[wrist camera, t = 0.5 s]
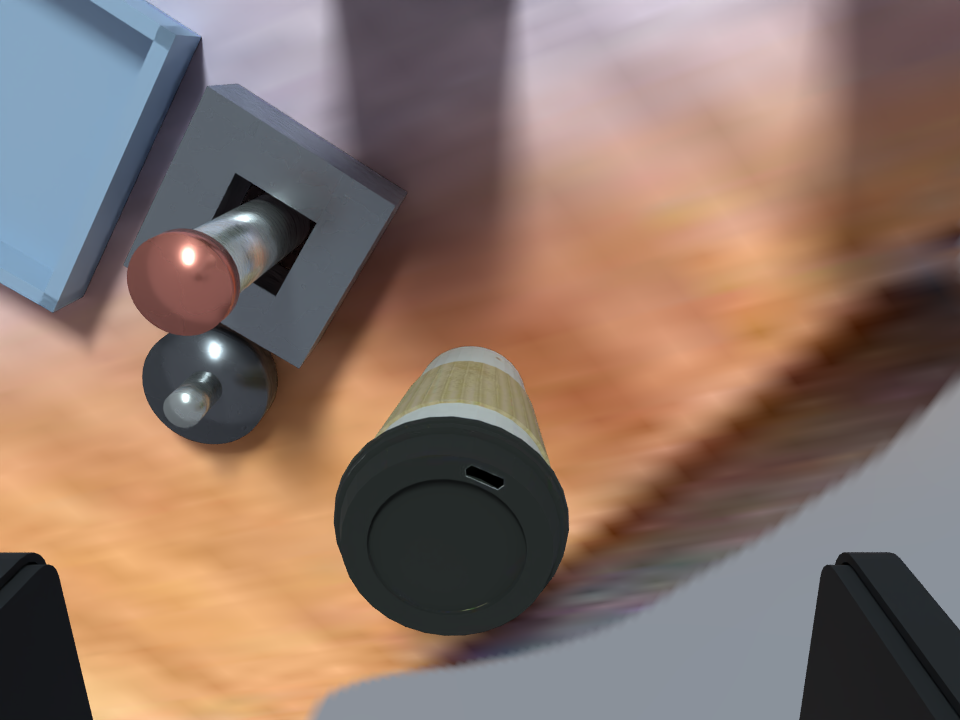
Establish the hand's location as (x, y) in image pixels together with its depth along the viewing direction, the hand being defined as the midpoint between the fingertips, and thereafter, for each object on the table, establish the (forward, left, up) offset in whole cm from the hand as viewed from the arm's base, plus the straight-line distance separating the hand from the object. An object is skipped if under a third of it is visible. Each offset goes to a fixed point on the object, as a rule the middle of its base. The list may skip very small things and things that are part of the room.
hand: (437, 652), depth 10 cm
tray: (+9, -23, -33) cm, 42 cm away
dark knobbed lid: (+17, -8, -33) cm, 38 cm away
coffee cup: (+10, +5, -33) cm, 35 cm away
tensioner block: (+7, -9, -33) cm, 35 cm away
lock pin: (+7, -9, -33) cm, 35 cm away
